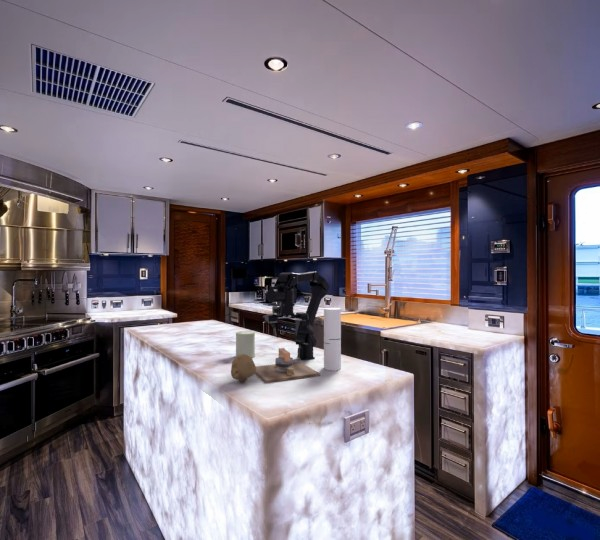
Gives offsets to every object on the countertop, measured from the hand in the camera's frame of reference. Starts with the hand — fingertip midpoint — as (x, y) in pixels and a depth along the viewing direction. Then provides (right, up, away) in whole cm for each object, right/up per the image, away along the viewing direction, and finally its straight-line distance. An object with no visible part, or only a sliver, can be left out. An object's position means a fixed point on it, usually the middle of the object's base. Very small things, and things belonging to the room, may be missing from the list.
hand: (286, 336), depth 157 cm
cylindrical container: (+19, -12, -7) cm, 24 cm away
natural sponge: (-15, -12, -25) cm, 32 cm away
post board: (-1, -12, -13) cm, 18 cm away
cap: (-1, -9, -13) cm, 16 cm away
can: (-20, -12, +14) cm, 28 cm away
